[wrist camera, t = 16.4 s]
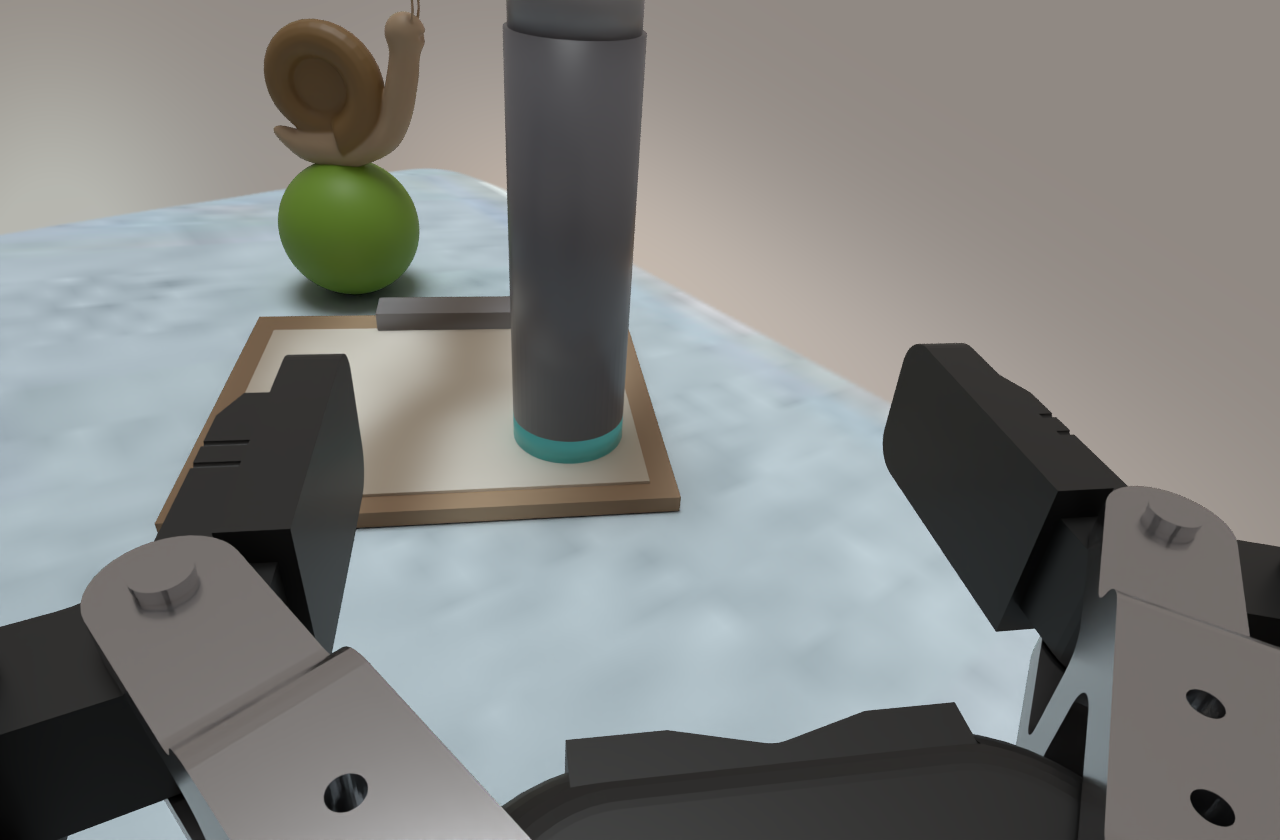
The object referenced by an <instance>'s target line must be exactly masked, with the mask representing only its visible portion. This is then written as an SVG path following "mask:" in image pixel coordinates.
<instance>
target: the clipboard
mask: <svg viewBox="0 0 1280 840" xmlns="http://www.w3.org/2000/svg"><path fill="white" fill-rule="evenodd" d="M297 354H346V356H347V358H348V361H349V364H350V369H351V375H352V381H353V388H354V394H355V401H356V408H357V414H358V421H359V428H360V434H361V441H362V447H363V456H364V488H363V496H362V501H361V506H360V511H359V516H358V522H357V527H356V528H363V527H382V526H400V525H419V524H438V523H457V522H476V521H495V520H513V519H532V518H551V517H570V516H589V515H608V514H626V513H645V512H664V511H679V508H680V500H681V496H680V493H679V490H678V487H677V484H676V480H675V477H674V474H673V471H672V467H671V464H670V461H669V458H668V455H667V451H666V448H665V445H664V442H663V438H662V435H661V432H660V429H659V426H658V422H657V419H656V416H655V413H654V409H653V406H652V403H651V400H650V397H649V393H648V390H647V387H646V384H645V380H644V377H643V374H642V371H641V368H640V364H639V361H638V358H637V355H636V351H635V348H634V345H633V342H632V339H631V335H630V332H629V329H628V344H627V360H626V376H625V392H624V408H623V424H622V438H621V440H620V443H619V444H618V446H617V447H616V448H615V449H614V450H613V451H612V452H610V453H609V454H607V455H605V456H603V457H601V458H599V459H596V460H593V461H589V462H584V463H575V464H563V463H554V462H549V461H544V460H541V459H538V458H536V457H534V456H532V455H530V454H528V453H527V452H525V451H524V450H523V449H522V448H521V447H520V446H519V445H518V444H517V442H516V440H515V438H514V426H513V389H512V352H511V315H510V296H504V297H393V298H379V302H378V306H377V310H376V315H367V316H286V317H259V319H258V321H257V323H256V325H255V327H254V329H253V331H252V333H251V335H250V337H249V339H248V341H247V342H246V344H245V346H244V348H243V350H242V352H241V354H240V356H239V358H238V360H237V362H236V364H235V366H234V368H233V370H232V372H231V374H230V376H229V378H228V380H227V382H226V384H225V386H224V388H223V390H222V392H221V394H220V396H219V398H218V400H217V402H216V404H215V406H214V408H213V410H212V412H211V414H210V416H209V418H208V420H207V422H206V424H205V426H204V427H203V429H202V431H201V433H200V435H199V437H198V439H197V441H196V443H195V445H194V447H193V449H192V451H191V453H190V455H189V457H188V459H187V461H186V463H185V465H184V467H183V469H182V471H181V473H180V475H179V477H178V479H177V481H176V483H175V485H174V487H173V489H172V491H171V493H170V495H169V497H168V499H167V501H166V503H165V505H164V507H163V509H162V511H161V512H160V514H159V516H158V518H157V520H156V522H155V526H156V529H157V532H159V530H160V528H161V526H162V524H163V522H164V520H165V518H166V516H167V514H168V512H169V510H170V508H171V506H172V504H173V502H174V500H175V498H176V496H177V494H178V492H179V490H180V488H181V486H182V484H183V482H184V480H185V478H186V475H187V473H188V471H189V469H190V468H193V461H194V459H195V457H196V455H197V453H198V451H199V449H200V447H201V446H204V442H203V441H204V439H205V437H206V435H207V433H208V431H209V429H210V427H211V425H212V423H213V421H214V419H215V417H216V415H217V414H219V413H220V412H221V411H222V410H223V409H225V408H226V407H227V406H228V405H230V404H231V403H232V402H233V401H235V400H236V399H237V398H238V397H240V396H241V395H242V394H243V393H257V392H270V390H271V387H272V385H273V382H274V380H275V378H276V375H277V373H278V370H279V368H280V366H281V363H282V361H283V359H284V357H285V356H286V355H297Z"/></svg>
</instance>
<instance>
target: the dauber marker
mask: <svg viewBox="0 0 1280 840" xmlns="http://www.w3.org/2000/svg"><path fill="white" fill-rule="evenodd" d="M506 2H507V22H506V23H504V24H503V56H504V90H505V92H504V93H505V128H506V129H505V130H506V166H507V204H508V241H509V278H510V315H511V352H512V389H513V426H514V438H515V440H516V442H517V444H518V445H519V446H520V447H521V448H522V449H523V450H524V451H525V452H527V453H528V454H530V455H532V456H534V457H536V458H538V459H541V460H544V461H549V462H554V463H563V464H575V463H584V462H589V461H593V460H596V459H599V458H601V457H603V456H605V455H607V454H609V453H610V452H612V451H613V450H614V449H615V448H616V447H617V446H618V444H619V443H620V440H621V438H622V424H623V408H624V392H625V376H626V360H627V344H628V328H629V312H630V295H631V279H632V263H633V247H634V231H635V215H636V198H637V182H638V167H639V150H640V134H641V118H642V101H643V86H644V68H645V54H646V37H647V33H646V32H645V31H644V30H643V17H644V0H506Z"/></svg>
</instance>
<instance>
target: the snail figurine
mask: <svg viewBox="0 0 1280 840" xmlns="http://www.w3.org/2000/svg"><path fill="white" fill-rule="evenodd" d="M417 2H418V10H417V16H415V15H413V13H414V8H413V0H411V13H409V12H397V13H395V14H393V15H392V16H391V17H390V18H389V19H388V20H387V22H386V25H385V37H386V41H387V43H388V47H389V62H388V70H387V76H386V83H385V86H384V82H383V78H382V75H381V72H380V69H379V67H378V65H377V63H376V61H375V59H374V58H373V56H372V54H371V53H370V52H369V50H368V49H367V48H366V47H365V45H364V44H363V43H362V42H361V41H360V40H359V39H358V38H357V37H355V36H354V35H353V34H352V33H350V32H349V31H347V30H346V29H344V28H343V27H341V26H339V25H336V24H334V23H331V22H329V21H324V20H318V19H301V20H298V21H295V22H291V23H289V24H288V25H286V26H284V27H283V28H281V29H280V30H279V31H278V32H277V34H276V35H275V36H274V37H273V38H272V40H271V41H270V43H269V46H268V47H267V50H266V54H265V59H264V75H265V82H266V85H267V89H268V92H269V94H270V96H271V98H272V100H273V102H274V104H275V105H276V107H277V108H278V109H279V111H280V112H281V113H282V114H283V115H284V116H285V117H286V118H287V119H288V120H289V121H290V122H291V123H292V124H294V125H295V126H296V128H297V129H295V128H291V127H287V126H276V127H275V128H274V133H275V134H276V136H277V137H278V138H279V140H281V142H282V143H284V145H285V146H286V147H288V148H289V149H290V150H291V151H292V152H293V153H294V154H296V155H297V156H299V157H300V158H302V159H304V160H306V161H309V162H312V163H315V164H313V165H311V166H309V167H307V168H306V169H304V170H303V171H302V172H300V173H299V174H298V175H297V176H296V177H295V178H294V179H293V181H292V182H291V183H290V184H289V186H288V187H287V189H286V191H285V193H284V195H283V197H282V200H281V203H280V207H279V213H278V228H279V234H280V238H281V242H282V245H283V247H284V249H285V252H286V253H287V255H288V257H289V259H290V260H291V262H292V263H293V264H294V265H295V267H296V268H297V269H298V270H299V271H300V272H301V273H302V274H303V275H304V276H305V277H307V278H308V279H309V280H311V281H312V282H314V283H315V284H317V285H319V286H321V287H323V288H326V289H328V290H331V291H334V292H338V293H344V294H364V293H370V292H374V291H377V290H379V289H382V288H384V287H386V286H388V285H390V284H391V283H393V282H394V281H395V280H397V279H398V278H399V277H400V276H401V275H402V274H403V273H404V272H405V271H406V269H407V268H408V267H409V265H410V263H411V262H412V260H413V258H414V256H415V253H416V250H417V246H418V241H419V221H418V216H417V212H416V209H415V206H414V204H413V201H412V199H411V197H410V196H409V194H408V192H407V191H406V190H405V188H404V187H403V186H402V184H401V183H400V182H399V181H398V180H397V179H396V178H395V177H394V176H392V175H391V174H390V173H389V172H387V171H385V170H384V169H382V168H381V167H379V166H377V165H375V164H373V163H371V162H374V161H376V160H378V159H380V158H382V157H384V156H386V155H388V154H389V153H391V152H392V151H394V150H395V149H396V148H397V147H398V146H399V144H400V143H401V141H402V140H403V138H404V136H405V134H406V132H407V129H408V127H409V124H410V121H411V118H412V114H413V110H414V105H415V99H416V92H417V85H418V78H419V60H420V54H421V51H422V48H423V46H424V42H425V41H424V34H423V33H424V32H425V28H424V26H423V24H422V23H421V21H420V20H419V11H420V6H419V0H417Z"/></svg>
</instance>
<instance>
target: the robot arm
mask: <svg viewBox="0 0 1280 840" xmlns="http://www.w3.org/2000/svg"><path fill="white" fill-rule="evenodd" d="M1069 431H1070V430H1069V429H1068V428H1067V427H1066V426H1065V425H1064V424H1063V423H1062V422H1060V420H1058V419H1057V418H1056V417H1053V418H1052V413H1051V412H1050V411H1049V410H1048V409H1047V408H1046V407H1045V406H1044V405H1043V404H1042V403H1041V402H1040V401H1039V400H1038V399H1037V398H1035V397H1034V396H1033V395H1032V394H1031V393H1030V392H1028V391H1027V390H1025V389H1023V388H1022V387H1020V386H1018V385H1016V384H1015V383H1013V382H1011V381H1009V380H1007V379H1006V378H1004V377H1002V376H1000V375H999V374H998V373H997V372H996V371H995V370H994V369H993V368H992V367H991V366H990V365H989V364H988V363H987V362H986V361H985V360H984V359H983V358H982V357H981V356H980V355H979V354H978V353H977V352H976V351H974V349H973V348H971V347H970V346H969V345H967V344H964V343H946V344H916V345H914V346H912V347H911V348H910V349H909V350H908V352H907V353H906V356H905V358H904V361H903V364H902V368H901V372H900V375H899V379H898V382H897V386H896V390H895V393H894V397H893V401H892V404H891V408H890V411H889V415H888V419H887V422H886V426H885V430H884V435H883V453H884V459H885V463H886V466H887V468H888V470H889V472H890V474H891V475H892V477H893V478H894V480H895V481H896V483H897V484H898V486H899V487H900V489H901V490H902V492H903V493H904V495H905V496H906V498H907V499H908V501H909V502H910V504H911V505H912V507H913V508H914V510H915V511H916V513H917V514H918V516H919V517H920V519H921V520H922V522H923V523H924V525H925V526H926V528H927V529H928V531H929V532H930V534H931V535H932V537H933V538H934V540H935V541H936V543H937V544H938V546H939V547H940V549H941V550H942V552H943V553H944V555H945V556H946V558H947V559H948V561H949V562H950V564H951V565H952V567H953V568H954V569H955V571H956V572H957V574H958V575H959V577H960V578H961V580H962V581H963V583H964V584H965V586H966V587H967V589H968V590H969V592H970V593H971V595H972V596H973V598H974V599H975V601H976V602H977V604H978V605H979V607H980V608H981V610H982V611H983V613H984V614H985V616H986V617H987V619H988V620H989V622H990V623H991V625H992V626H993V628H994V629H995V631H996V632H998V631H1010V630H1022V629H1034V628H1035V629H1036V631H1037V632H1038V633H1039V635H1040V637H1039V639H1038V641H1037V643H1036V645H1035V647H1034V649H1033V652H1032V655H1031V659H1030V665H1029V670H1028V676H1027V682H1026V688H1025V694H1024V700H1023V706H1022V712H1021V718H1020V724H1019V730H1018V736H1017V742H1016V745H1013V744H1010V743H1008V742H1005V741H1001V740H996V739H992V738H988V737H984V736H980V735H975V734H972V732H971V730H970V729H969V727H968V725H967V723H966V722H965V720H964V718H963V716H962V714H961V713H960V711H959V709H958V707H957V706H956V704H955V702H952V703H942V704H932V705H921V706H911V707H901V708H890V709H880V710H870V711H864V712H861V713H858V714H856V715H853V716H850V717H848V718H845V719H842V720H840V721H837V722H835V723H832V724H829V725H827V726H824V727H821V728H819V729H816V730H813V731H811V732H808V733H805V734H803V735H800V736H798V737H795V738H792V739H790V740H787V741H784V742H780V743H760V742H752V741H745V740H737V739H730V738H722V737H715V736H707V735H699V734H692V733H684V732H677V731H669V730H665V731H654V732H644V733H634V734H623V735H613V736H603V737H593V738H582V739H572V740H566V750H565V773H564V774H562V775H559V776H557V777H554V778H551V779H549V780H546V781H544V782H542V783H540V784H538V785H536V786H535V787H533V788H531V789H529V790H527V791H525V792H523V793H521V794H519V795H518V796H516V797H515V798H513V799H512V800H510V801H509V802H507V803H506V804H504V805H503V806H500V805H499V804H498V803H497V802H496V800H495V799H494V798H493V797H492V796H491V795H490V794H489V793H488V792H487V791H486V790H485V788H484V787H483V786H482V785H481V784H480V783H479V782H478V781H477V780H476V779H475V778H474V776H473V775H472V774H471V773H470V772H469V771H468V770H467V769H466V768H465V767H464V766H463V765H462V763H461V762H460V761H459V760H458V759H457V758H456V757H455V756H454V755H453V754H452V753H451V751H450V750H449V749H448V748H447V747H446V746H445V745H444V744H443V743H442V742H441V741H440V739H439V738H438V737H437V736H436V735H435V734H434V733H433V732H432V731H431V730H430V729H429V727H428V726H427V725H426V724H425V723H424V722H423V721H422V720H421V719H420V718H419V717H418V716H417V714H416V713H415V712H414V711H413V710H412V709H411V708H410V707H409V706H408V705H407V704H406V702H405V701H404V700H403V699H402V698H401V697H400V696H399V695H398V694H397V693H396V692H395V690H394V689H393V688H392V687H391V686H390V685H389V684H388V683H387V682H386V681H385V680H384V678H383V677H382V676H381V675H380V674H379V673H378V672H377V671H376V670H375V669H374V668H373V666H372V665H371V664H370V663H369V662H368V661H367V660H366V659H365V658H364V657H363V656H362V655H361V654H360V653H358V652H357V651H356V650H354V649H352V648H351V647H347V646H346V647H342V648H341V649H339V650H337V651H335V652H334V653H332V649H333V644H334V639H335V634H336V629H337V624H338V619H339V613H340V608H341V603H342V598H343V593H344V588H345V583H346V578H347V573H348V567H349V562H350V557H351V552H352V547H353V542H354V537H355V532H356V527H357V522H358V516H359V511H360V506H361V501H362V496H363V488H364V456H363V447H362V441H361V434H360V428H359V421H358V414H357V408H356V401H355V394H354V388H353V381H352V375H351V369H350V364H349V361H348V358H347V356H346V354H297V355H286V356H285V357H284V359H283V361H282V363H281V366H280V368H279V370H278V373H277V375H276V378H275V380H274V382H273V385H272V387H271V390H270V392H257V393H243V394H242V395H241V396H240V397H238V398H237V399H236V400H235V401H233V402H232V403H231V404H230V405H228V406H227V407H226V408H225V409H223V410H222V411H221V412H220V413H219V414H217V415H216V417H215V419H214V421H213V423H212V425H211V427H210V429H209V431H208V433H207V435H206V437H205V439H204V441H203V442H204V446H201V447H200V449H199V451H198V453H197V455H196V457H195V459H194V461H193V468H190V469H189V471H188V473H187V475H186V478H185V480H184V482H183V484H182V486H181V488H180V490H179V492H178V494H177V496H176V498H175V500H174V502H173V504H172V506H171V508H170V510H169V512H168V514H167V516H166V518H165V520H164V522H163V524H162V526H161V528H160V530H159V532H158V534H157V536H156V538H155V540H154V542H150V543H148V544H145V545H142V546H140V547H137V548H135V549H133V550H131V551H129V552H127V553H125V554H123V555H122V556H120V557H118V558H117V559H115V560H113V561H112V562H111V563H109V564H108V565H107V566H105V567H104V568H103V569H102V570H101V571H100V572H99V573H98V574H97V575H96V576H95V577H94V578H93V579H92V581H91V582H90V583H89V585H88V586H87V588H86V590H85V592H84V594H83V596H82V600H81V603H80V604H77V605H75V606H72V607H69V608H66V609H63V610H60V611H57V612H53V613H50V614H46V615H42V616H39V617H35V618H31V619H28V620H24V621H20V622H16V623H13V624H9V625H5V626H2V627H0V840H67V837H68V836H69V835H71V834H74V833H77V832H79V831H82V830H85V829H87V828H90V827H93V826H95V825H98V824H101V823H103V822H106V821H109V820H112V819H114V818H117V817H120V816H122V815H125V814H128V813H130V812H133V811H136V810H138V809H141V808H144V807H146V806H149V805H152V804H154V803H157V802H160V801H162V800H164V801H165V802H166V804H167V806H168V808H169V809H170V811H171V813H172V814H173V816H174V818H175V819H176V821H177V823H178V825H179V826H180V828H181V830H182V831H183V833H184V835H185V836H186V838H187V840H1280V547H1277V546H1271V545H1265V544H1259V543H1252V542H1247V541H1240V540H1236V537H1235V536H1234V534H1233V532H1232V531H1231V530H1230V528H1229V527H1228V526H1227V525H1226V524H1225V523H1224V522H1223V521H1222V520H1221V519H1220V518H1219V517H1218V516H1216V515H1215V514H1214V513H1212V512H1211V511H1209V510H1208V509H1206V508H1205V507H1203V506H1201V505H1200V504H1198V503H1196V502H1194V501H1192V500H1189V499H1187V498H1185V497H1183V496H1180V495H1178V494H1175V493H1172V492H1169V491H1165V490H1161V489H1157V488H1152V487H1144V486H1127V485H1126V484H1125V483H1124V482H1123V481H1122V480H1121V479H1120V478H1119V477H1118V476H1117V475H1116V474H1115V473H1114V472H1113V471H1111V470H1110V469H1109V468H1108V467H1107V466H1106V465H1105V464H1104V463H1103V462H1102V461H1101V460H1100V459H1099V458H1098V457H1097V456H1096V455H1095V454H1094V453H1093V452H1092V451H1091V450H1090V449H1089V448H1087V446H1086V445H1084V444H1083V443H1082V442H1081V441H1080V440H1079V439H1078V438H1077V437H1076V436H1075V435H1070V433H1069Z"/></svg>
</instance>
